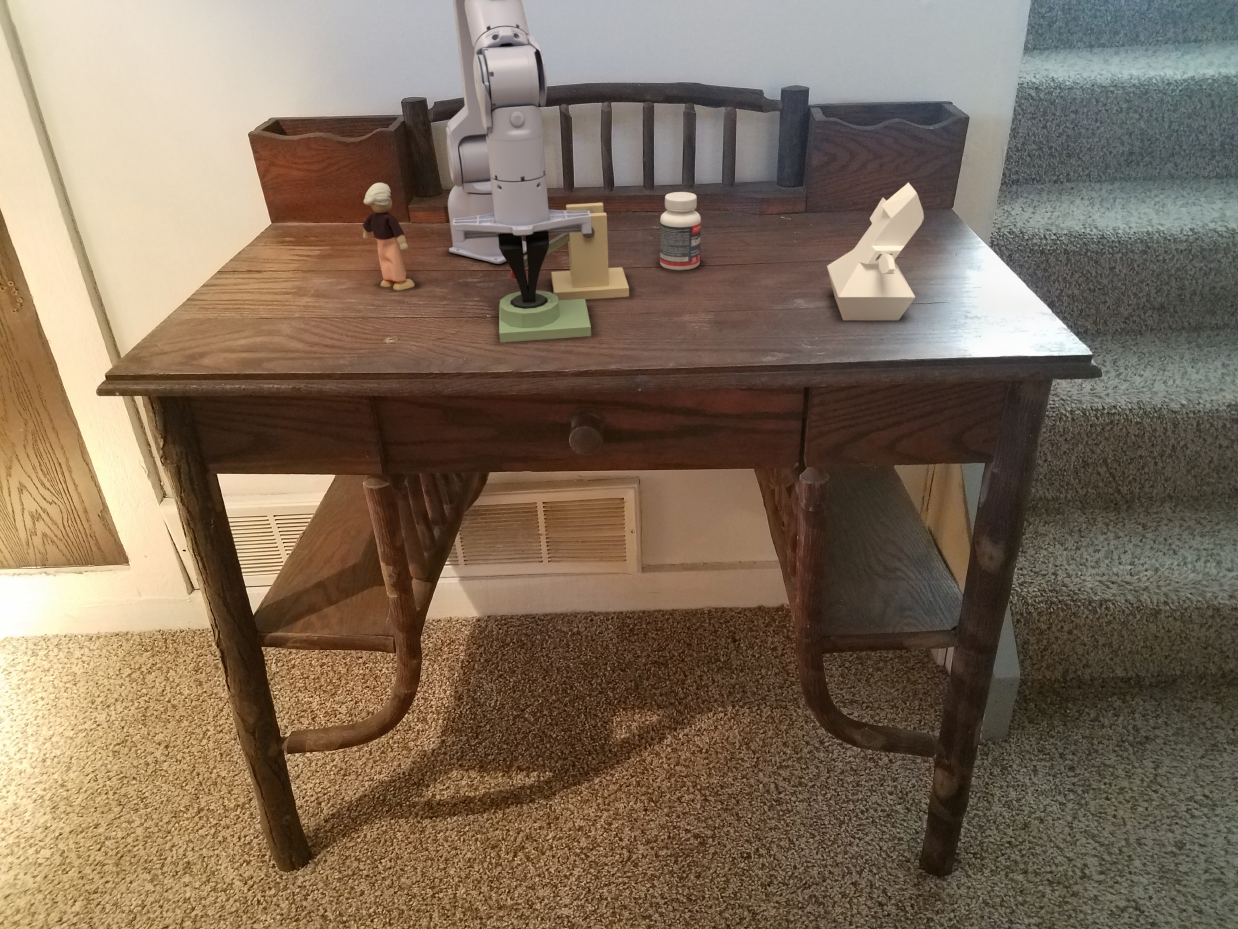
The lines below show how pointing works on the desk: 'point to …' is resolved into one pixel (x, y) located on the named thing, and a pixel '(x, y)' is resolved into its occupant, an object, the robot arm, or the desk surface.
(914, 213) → the beige angled stand
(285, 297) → the desk surface
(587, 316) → the button box
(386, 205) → the grandmother figurine
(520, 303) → the button
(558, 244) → the lever
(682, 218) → the pill bottle
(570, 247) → the bracket
